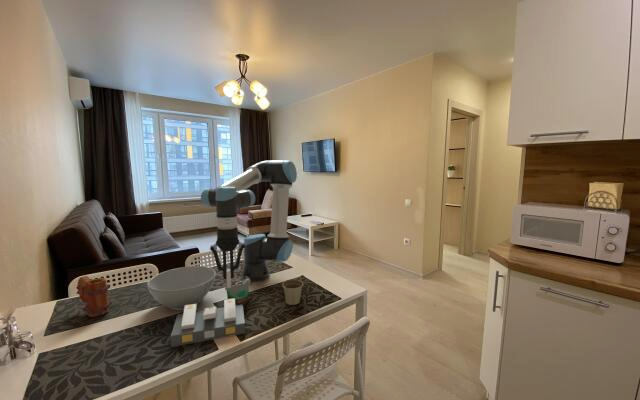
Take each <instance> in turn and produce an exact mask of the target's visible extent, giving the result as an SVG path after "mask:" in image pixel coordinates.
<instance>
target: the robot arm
mask: <svg viewBox="0 0 640 400" xmlns="http://www.w3.org/2000/svg"><path fill="white" fill-rule="evenodd" d="M297 173H298V172H297V167H296V165H295V164H294V162H293V161H291V160H287V159H286V160H285V159H282V160H279V159H277V160H270V159H269V160H263V161H259V162H257V163H255V164H253V165H251V166H248V167H247V168H246V169H245V171H244V172H242V173H240V174H239V175H237V176H235V177H233V178H231V179H230V180H228V181H225V182H224V183H222V184H221V185H219V186H217V187H215V188H206V189H204V190H203V191H202V192H201V195H200V200H201V203H202V205H204V206H205V207H211V208H216V210H215V211H216V214H215V215H216V227H217V228H216V241H215V243H214V244H212V245H210V247H209V250H210V251H211V252H212V254H213V256H214V260H215V264H216V267H217V270H218V271H222V272H223V273H222V275H223V280H226V285H227V288H231V285H232V279H234V278H235V270H237V269H239V266H240V262H241V259H242V253H243V256H244V257H243V259H244V261H243V262H244V264H243V266H242V270H241V280H243V279H245V278H246V276H247V277H248V278H249V279H250V282H259V281H263V280H266V279H267V278H269V276H270V270H269V267H268V264H267V261H273V262H275V261H276V262H280V263H281V262H282V263H283V262H286V261H288V260H289V258H290V257H291V255H292V252H293V247H294V246H293V241H292V240H291V239H290V236H289V234H288V232H287V231H288V230H287V229H288V227H287V226H288V214H289V213H288V212H289V195H290V189H291V188H292V187H293V183H295V182H296V180H297V178H298V176H297V175H298V174H297ZM261 182H262V183H263V182H270V186H271V187H272V202H271V203H272V204H271V219H270V232H269V233H268V234H267V236H266V234H265V233H258V234H257V233H256V234H252V235H248V236H246V237H244V239H243V242H241V241H240V240H239V239H240V238H239V235H238V234H239V232H238V230H239V228H238V227H237V226H238V225H239V224H238V210H242V209H248V208H249V207H250V208H251V207H252V206H253V205H254V204H255V203H256V195H255V193H254V192H253V191H252V190H250V189H248V188H250V187H251V186H253V185H256V184H259V183H261ZM237 246H238V247H237ZM218 248H219V250H221V252H222V263H221V260H220V257H219V254H218ZM236 248H238V251H237V256H236V258H235V259H236V260H235V264H234V250H235V249H236ZM227 252H229V264H230V268H227V267H228V266H227Z"/></svg>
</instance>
